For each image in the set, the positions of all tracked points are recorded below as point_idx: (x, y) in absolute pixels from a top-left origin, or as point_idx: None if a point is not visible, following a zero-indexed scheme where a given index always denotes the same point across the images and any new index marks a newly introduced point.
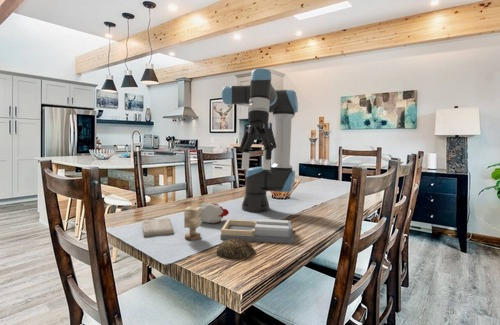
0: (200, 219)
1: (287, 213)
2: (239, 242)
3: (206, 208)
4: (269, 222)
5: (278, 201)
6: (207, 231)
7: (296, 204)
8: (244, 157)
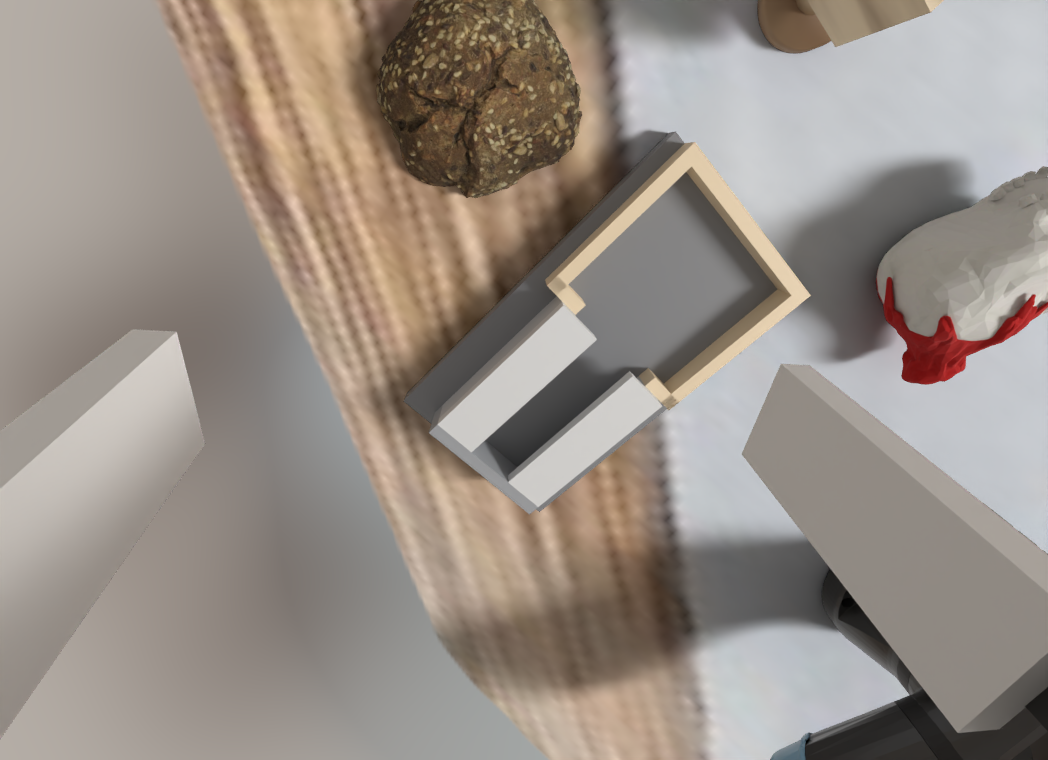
0: (854, 30)
1: (720, 635)
2: (434, 79)
3: (1017, 230)
4: (578, 420)
5: None
6: (821, 145)
7: (783, 743)
8: (927, 526)
